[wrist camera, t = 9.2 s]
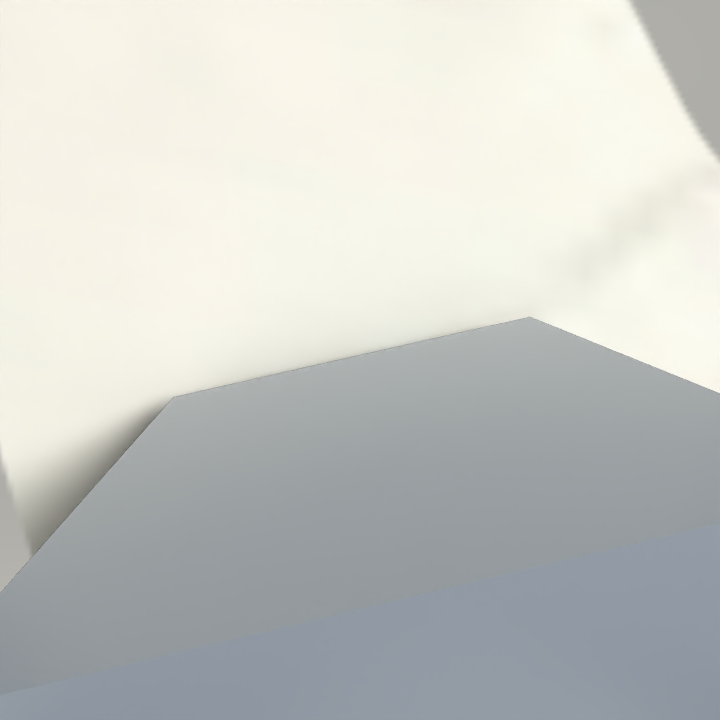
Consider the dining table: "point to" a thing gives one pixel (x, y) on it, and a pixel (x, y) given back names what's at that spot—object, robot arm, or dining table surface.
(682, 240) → the dining table surface
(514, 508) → the slate blue cube
